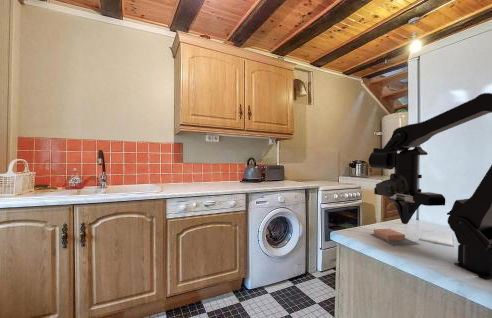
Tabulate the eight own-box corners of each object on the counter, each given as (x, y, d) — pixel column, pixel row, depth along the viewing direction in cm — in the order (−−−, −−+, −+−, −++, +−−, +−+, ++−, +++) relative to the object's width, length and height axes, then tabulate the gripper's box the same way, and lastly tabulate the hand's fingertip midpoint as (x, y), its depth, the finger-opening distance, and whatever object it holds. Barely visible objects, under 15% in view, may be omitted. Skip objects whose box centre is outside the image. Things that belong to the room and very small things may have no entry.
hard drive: (421, 228, 80) (418, 238, 71) (452, 234, 75) (454, 244, 66) (420, 233, 80) (418, 243, 71) (452, 239, 75) (454, 250, 66)
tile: (404, 234, 71) (389, 228, 77) (388, 235, 70) (373, 229, 76) (404, 239, 71) (389, 233, 77) (387, 240, 70) (373, 234, 76)
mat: (420, 245, 68) (420, 244, 68) (393, 247, 66) (393, 245, 66) (392, 234, 77) (392, 232, 77) (369, 235, 76) (369, 234, 76)
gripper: (360, 168, 75) (359, 216, 75) (410, 172, 57) (409, 235, 57) (389, 168, 77) (388, 215, 77) (447, 173, 59) (446, 233, 59)
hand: (404, 223), depth 68 cm, fingers closed
